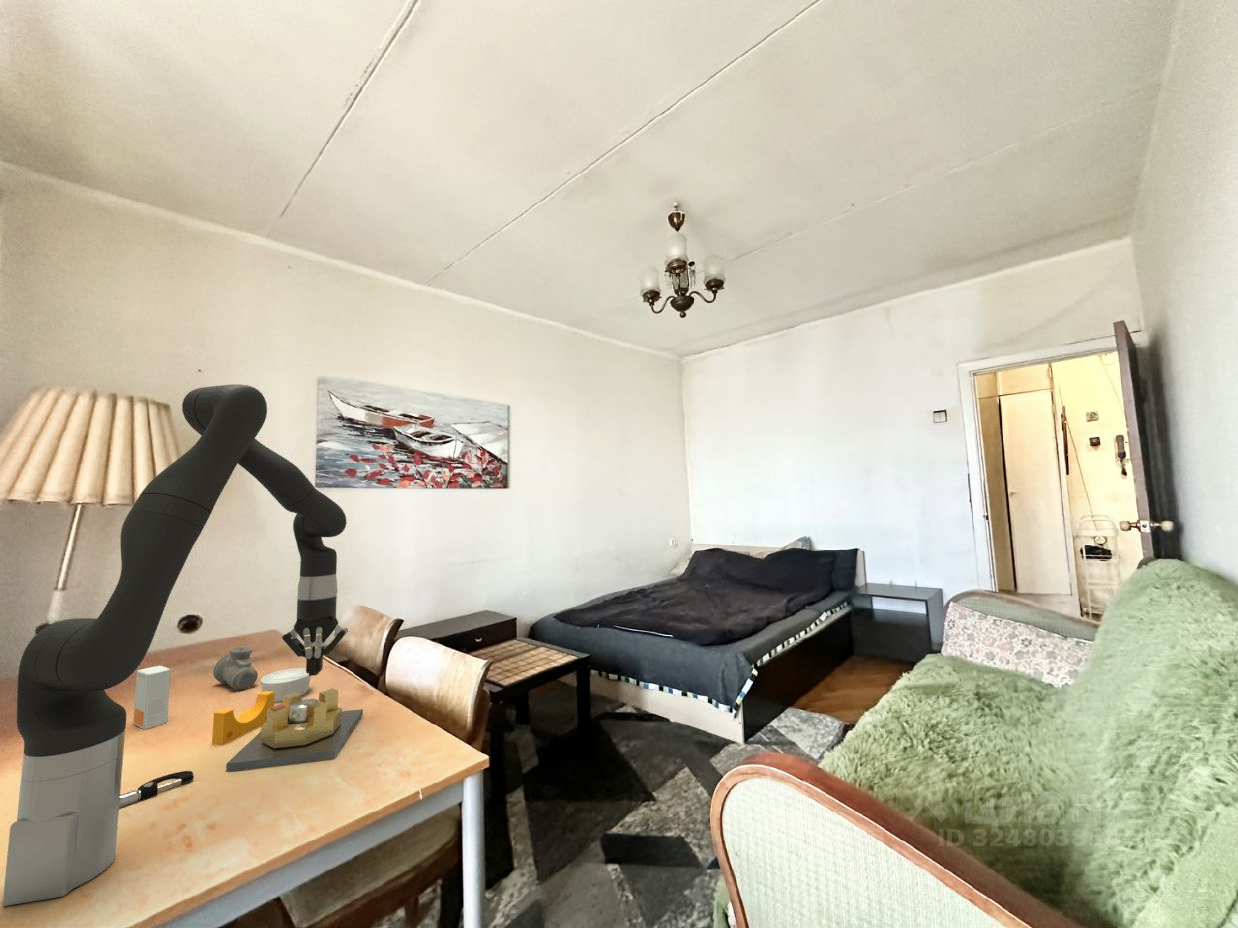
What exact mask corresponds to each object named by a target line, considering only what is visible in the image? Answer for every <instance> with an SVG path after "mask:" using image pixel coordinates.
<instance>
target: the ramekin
mask: <svg viewBox="0 0 1238 928" xmlns="http://www.w3.org/2000/svg"><path fill="white" fill-rule="evenodd" d="M311 678H312V676H309V673H307V672H306V667H295V668H287V669H281V670H277V671H274V672H271V673H268V674H266V675H264V676H263V677H261V679H260V685H261V690H262V691H261V693H262V692H264V691H272V692H275V699H274V703H279V702H280V703H283V695H286V694H290V693H293V692H297V693H300V694H302V696H303V695H305V694H306V693H307V692H308V690H309V688H310V687H309V686H310V682H311Z"/></svg>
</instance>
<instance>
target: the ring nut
mask: <svg viewBox="0 0 1238 928" xmlns="http://www.w3.org/2000/svg"><path fill="white" fill-rule="evenodd" d="M302 697H303V695H302V694H300V693H297V692H293V693H290V694H286V695H283V701H282V703H280V704H277V705H274V706H273V707H270V709H267V720H266V723H265V724H264V725H262V726H261V729H262V730H261V731H262V734H261V742H263V743H265V744H267V745H269V746H271V747H273V748H281V747H290V746H299V745H306V744H308V743H311V742H313V741H316V740H319V739H321V738H324V737H326V736H329V735H331V734H333V733H334V732H335V730H336V729H337V728H338V726H339V725H340V724H341V717H342V711H343V708H342V707H339V690H338V689H334V688H330V689H327V690H326V689H325V690H324V691H321V692H319V693H318V702H315V703H312V704H309V705H307V720H306V723H302V724H292V725H289V714H290V705H291V704H292V703H294V702H297V701H300V700H303V698H302Z"/></svg>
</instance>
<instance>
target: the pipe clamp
mask: <svg viewBox="0 0 1238 928" xmlns="http://www.w3.org/2000/svg"><path fill="white" fill-rule="evenodd" d="M274 699H275V692H272V691H264V692H262V691H261V692H260V693H258V694H257V698H256V700H255V701H256V702H255V703H254V705H253V707H251V708H248V709H246V710H244V711H243V712H242V713H240V715H239V716H237V717H235V715H234V709H231V708H222V709H220V710H216V711H215V712H213V721H212V736H211V745H214V746H224V745H226V744H229V743H230V742H232V741H234V740H236V739H238V738H240V737H242V736H244V735H246V734H248V733H250V732H252V731H254V730H255V729H258V728H261V727H262V725H264V724H265V723H266V720H267V709H270V707H273V706H275V702H274Z"/></svg>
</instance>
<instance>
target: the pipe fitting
mask: <svg viewBox="0 0 1238 928" xmlns="http://www.w3.org/2000/svg"><path fill="white" fill-rule="evenodd" d="M252 653H253V648H252V647H250V646H247V645H246V646H235V647H232V648H229V652H228V654H226V655H223V656H222V657H220V659H219V660H218V661H217V662H216V663H215V665H214V668H213V671H212V673H213V678H214V679H215V680H216V681H218V683H220V684H223V685H229V686H230V687H231V688H232V689H234V690H236V691H244V690H247V689H249V688H251V687H252V686H254V684H255V683H256V682H257V679H258V676H259V675H258V674H259V673H258V671H257V670H256V669H255V667H253V666H252V661H251V654H252Z"/></svg>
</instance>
